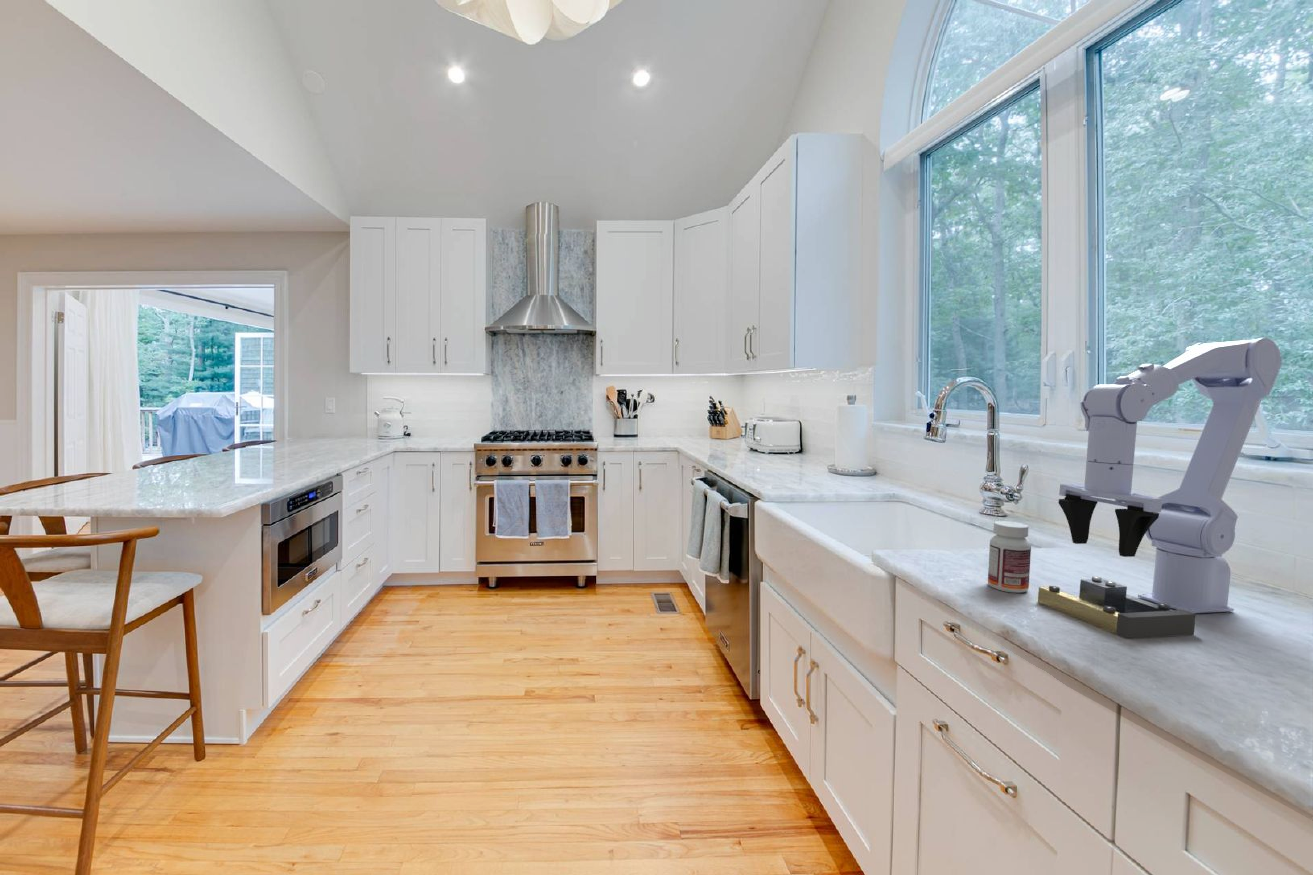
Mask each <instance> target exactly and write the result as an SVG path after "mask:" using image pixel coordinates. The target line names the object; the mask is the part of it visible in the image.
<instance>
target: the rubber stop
mask: <svg viewBox="0 0 1313 875" xmlns="http://www.w3.org/2000/svg"><path fill="white" fill-rule="evenodd" d="M1173 610H1174V611H1155V612H1136V613H1118V619H1117V631H1116V634H1115V635H1117V636H1120V637H1122V638H1123V639H1127V640H1133V639H1146V638H1147V639H1148V638H1161V637H1163V638H1164V637H1179V636H1180V637H1181V636H1193V635H1195V627H1196V626H1195V625H1196V619H1197V618H1196V616H1197V613H1191V612H1188V611H1185V610H1176V609H1173Z"/></svg>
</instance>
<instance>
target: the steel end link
mask: <svg viewBox="0 0 1313 875" xmlns="http://www.w3.org/2000/svg"><path fill="white" fill-rule="evenodd" d="M1174 610H1175V609H1173V608H1170V605H1168V604H1164V603H1155V602H1152V601H1149V600H1146V599H1143V598H1140V597H1136V596H1132V595H1130V594H1127V593H1126V603H1125V613H1136V612H1155V611H1174Z"/></svg>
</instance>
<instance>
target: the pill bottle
mask: <svg viewBox="0 0 1313 875" xmlns="http://www.w3.org/2000/svg"><path fill="white" fill-rule="evenodd" d="M992 532H993V533H994V534H995V535H994V536H992V537H991V538H990V540H989V550H988V551H989V552H988V554H989V555H988V568H987V569H988V571H987V573H988V574H987V584H988V586H989V587H991V588H993V589H996V590H999V591H1002V592H1006V593H1016V594H1017V593H1020V594H1021V593H1025V592H1028V591H1029V587H1030V572H1031V570H1030V569H1031V555H1032V552H1031V551H1032V545H1031V543H1030V541H1029V540H1028V539H1027V537H1029V525H1028V524H1025V523H1021V522H1015V521H1010V520H1009V521H1008V520H1006V521H1005V520H998V521H994V522H993V530H992Z"/></svg>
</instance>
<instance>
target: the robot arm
mask: <svg viewBox="0 0 1313 875" xmlns="http://www.w3.org/2000/svg"><path fill="white" fill-rule="evenodd" d="M1184 351H1185V352H1184V353H1183V354H1181V355H1180V356H1178V357H1176V358H1174V359H1173V360H1171V361H1169V362H1168V363H1166V364H1164V365H1160V364H1154V363H1143V364H1141V365H1138V366H1137V370H1136V371H1135V372H1132V373H1129V374H1128V375H1122V376H1119V377H1117V378H1115V380H1116V381H1114V382H1112V383H1110V384H1096V385H1095V386H1093V387H1092V388H1090V389H1089V390H1088V391H1086V393H1085V394H1084V396H1083V399H1082V401H1080V411H1081V413H1082V415H1083V417H1084V428H1085V430H1086V431H1087V432H1088V435H1087V436H1088V437H1087V448H1086V460H1085V461H1086V464H1085V473H1084V476H1085V477H1084V484H1083V485H1082V484H1081V485H1079V484H1073V483H1060V484H1059V493H1058V494H1059V496H1062V497H1064V498H1059V499H1058V504H1059V505H1058V506H1060V508H1061V510H1062V512H1063V513H1064V516H1065V518H1066V521H1067V523H1068V527H1069V531H1070V534H1071V535H1070V536H1071V540H1072V543H1073V544H1075V545H1076V544H1077V545H1078V544H1079V545H1081V544H1083V545H1084V544H1087V542H1088V539H1089V535H1090V527H1091V521H1092V518H1093V517H1092V516H1093V514H1094V511H1095V508H1096V506H1097V504H1098V502H1099V503H1103V504H1109V505H1114V506H1119V507H1125V508H1115V509H1114V512H1115V516H1116V520H1117V524H1118V532H1119V535H1118V536H1119V538H1118V553H1119V556H1120V557H1124V558H1128V557H1130V558H1131V557H1132V558H1133V557H1136V553H1137V552H1138V549H1139V546H1140V544H1141V542H1142V540H1143V538H1144V536H1146V537H1147V539H1148V540H1149V541H1151V546H1152V547H1155V557H1154V558H1155V559H1154V569H1153V570H1154V571H1153V578H1152V579H1153V580H1152V581H1153V582H1152V592H1151V593H1138V594H1137V598H1139V599H1142V600H1145V601H1148V602H1151V603H1154V604H1158V603H1164V604H1168V605H1170V609H1172V610H1185V611H1188V612H1191V613H1194V614H1205V613H1222V612H1223V613H1224V612H1234V610H1235V608H1234V607H1230V606H1228V605H1229V604H1228V603H1229V594H1230V593H1229V592H1230V583H1231V582H1230V581H1231V575H1232V574H1231V567H1230V565H1229V563H1228V562H1227V561H1226V559H1225V558H1224V557H1222V556H1223V555H1224V554H1225V553H1227V552H1228V551H1229V550H1230V549H1231V547H1232V546H1233V545H1234V542H1235V540H1236V539H1235V537H1236V524H1237V521H1238V514H1237V513H1236V512H1235V510H1233V508H1232V507H1231V506H1230V505H1229V504H1227V503H1226V502H1225V501H1224V500H1223V499H1222V498H1223V497H1224V494H1225V491H1226V489H1227V488H1228V485H1229V482H1230V479H1231V477H1232V475H1233V471H1234V469H1235V468H1236V464H1237V462H1238V459H1239V457H1240V454H1241V452H1242V450H1243V446H1244V444H1245V442H1246V439H1247V437H1248V434H1249V432H1250V429H1251V427H1252V425H1253V422H1254V419H1255V417H1256V415H1257V413H1258V410H1259V407H1260V404H1261V401H1262V399H1263V398H1265V397H1268V396H1269V395H1270V394H1271V392H1272V389H1273V387H1274V386H1275V385H1274V384H1275V382H1276V379H1277V377H1278V375H1279V372H1280V371H1281V370H1280V369H1281V367H1282V364H1283V362H1282V357H1281V352H1280V348H1279V346H1278V345H1277V344H1276V343H1275V342H1274V341H1273V340H1272V338H1268V337H1259V338H1256V339H1246V340H1232V341H1220V342H1219V341H1218V342H1198V343H1195V344H1194V345H1190V346H1187V347H1186V348H1185V350H1184ZM1191 380H1192V382H1193V383H1194V385H1195V387H1196V388H1197V390H1198V391H1199V393H1200V395H1201V396H1203V397H1205V398H1208V399H1210V400H1212V402H1213V405H1212V408H1211V409H1210V412H1209V414H1208V417H1207V420H1206V422H1205V424H1204V426H1203V429H1202V432H1201V434H1200V436H1199V439H1198V441H1197V444H1196V447H1195V450H1194V452H1193V454H1192V456H1191V459H1190V461H1189V464H1188V466H1187V469H1186V471H1185V473H1184V476H1183V479H1182V481H1181V483H1180V485H1179V488H1177V489H1175V490H1172V491H1170V492H1168V493H1165V494H1163V495H1160V496H1159V497H1153V496H1150V495H1145V494H1144V495H1143V494H1139V493H1136V492H1133V491H1132V489H1133V488H1132V485H1133V476H1134V475H1133V474H1134V462H1135V451H1136V450H1135V449H1136V441H1137V440H1136V437H1137V428H1138V422H1142V421H1143V420H1144V419H1145V418H1146V416H1147V415H1148V413H1149V411H1150V410H1151V409H1152V408H1153V407H1154V406H1155V405H1158V404H1159V403H1161V402H1163V401H1165V400H1167V399H1170V398H1172V397H1173V396H1174V395H1176V394H1177V392H1178V389H1179V388H1180V385H1181V384H1183V383H1186V382H1188V381H1189V382H1190V381H1191Z"/></svg>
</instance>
